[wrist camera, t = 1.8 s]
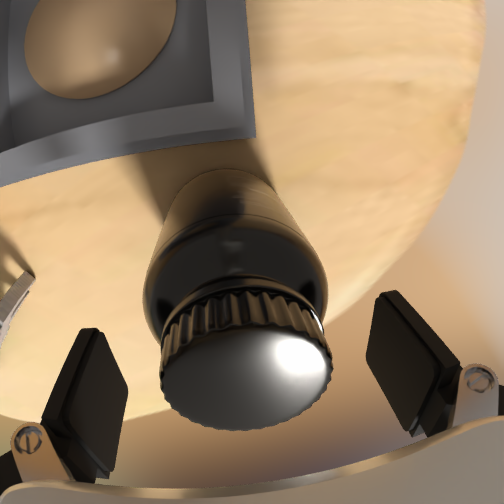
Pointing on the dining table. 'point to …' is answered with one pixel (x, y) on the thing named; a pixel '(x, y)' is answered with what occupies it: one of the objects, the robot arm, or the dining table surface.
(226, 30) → the housing
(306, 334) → the supplement bottle
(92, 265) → the dining table surface
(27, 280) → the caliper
